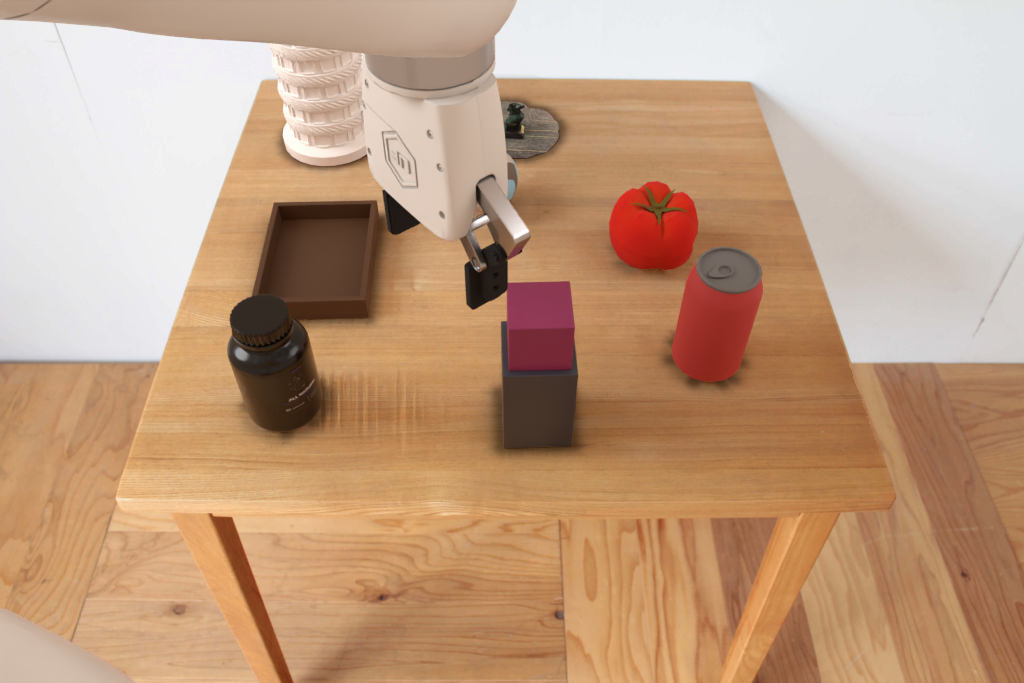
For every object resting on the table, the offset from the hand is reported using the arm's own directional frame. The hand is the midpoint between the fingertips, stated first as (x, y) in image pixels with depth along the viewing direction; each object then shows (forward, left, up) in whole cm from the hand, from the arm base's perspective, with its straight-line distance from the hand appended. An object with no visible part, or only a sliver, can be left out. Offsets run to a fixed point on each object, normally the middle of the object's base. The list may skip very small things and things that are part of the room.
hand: (446, 261), depth 61 cm
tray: (+11, +23, -20) cm, 32 cm away
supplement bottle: (-6, +15, -20) cm, 26 cm away
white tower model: (+30, +36, -20) cm, 51 cm away
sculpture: (+42, +17, -20) cm, 49 cm away
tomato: (+29, -7, -20) cm, 36 cm away
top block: (+4, -6, -10) cm, 12 cm away
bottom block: (+4, -6, -20) cm, 21 cm away
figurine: (+28, +12, -20) cm, 36 cm away
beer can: (+18, -17, -20) cm, 32 cm away
